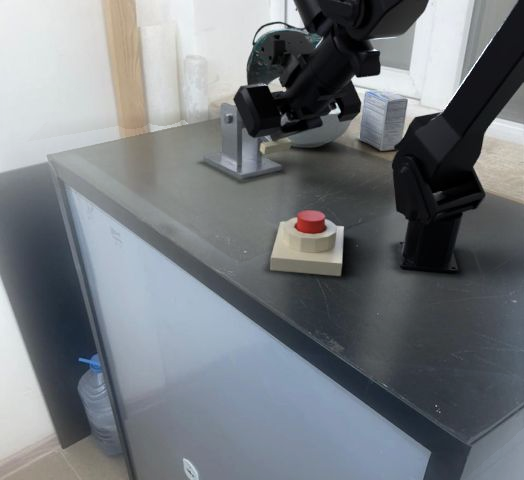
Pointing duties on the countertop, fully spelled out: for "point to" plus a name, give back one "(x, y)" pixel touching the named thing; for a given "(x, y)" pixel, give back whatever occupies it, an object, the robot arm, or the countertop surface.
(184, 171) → the countertop surface
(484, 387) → the countertop surface
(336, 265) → the control block
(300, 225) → the button
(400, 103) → the medicine box
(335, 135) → the cereal bowl
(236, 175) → the bracket
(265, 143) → the lever
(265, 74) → the green curved piece
